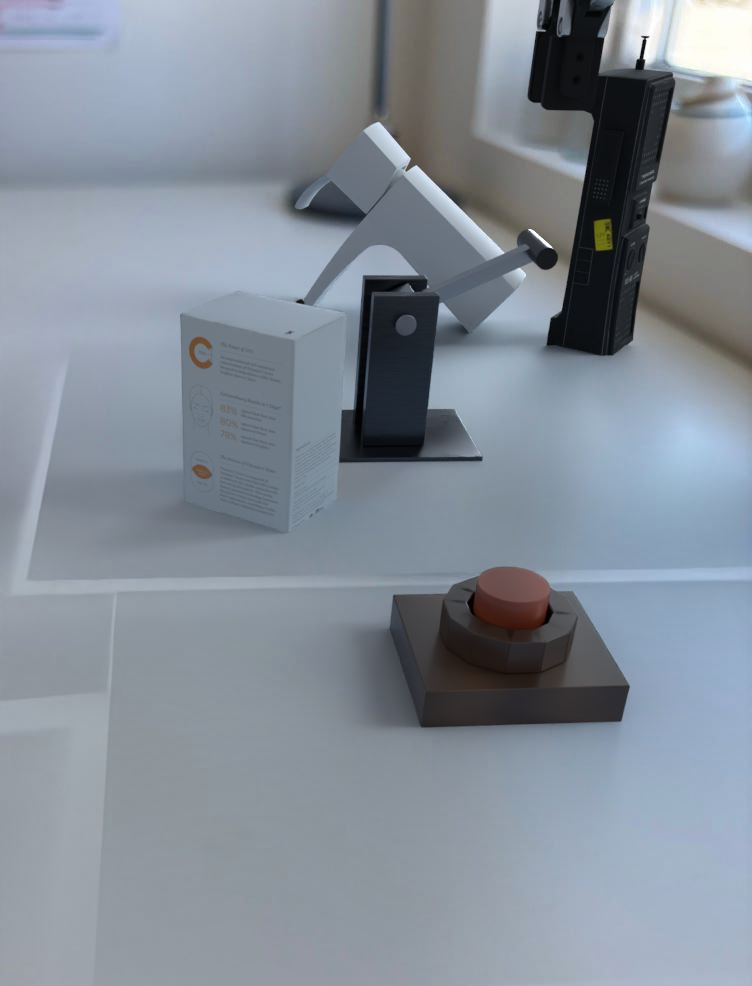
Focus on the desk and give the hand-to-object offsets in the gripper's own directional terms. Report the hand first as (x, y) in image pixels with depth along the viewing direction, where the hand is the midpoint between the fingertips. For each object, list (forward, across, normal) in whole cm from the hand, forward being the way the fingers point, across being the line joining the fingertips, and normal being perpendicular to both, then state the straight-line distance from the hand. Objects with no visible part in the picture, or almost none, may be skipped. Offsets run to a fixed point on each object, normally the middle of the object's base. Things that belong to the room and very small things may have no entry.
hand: (559, 103), depth 71 cm
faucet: (+23, +31, +2) cm, 39 cm away
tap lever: (+12, 0, +4) cm, 13 cm away
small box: (+23, -10, +19) cm, 32 cm away
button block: (+23, -29, +8) cm, 38 cm away
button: (+20, -29, +8) cm, 36 cm away
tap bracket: (+23, 0, +9) cm, 25 cm away
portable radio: (+23, +21, -13) cm, 34 cm away
